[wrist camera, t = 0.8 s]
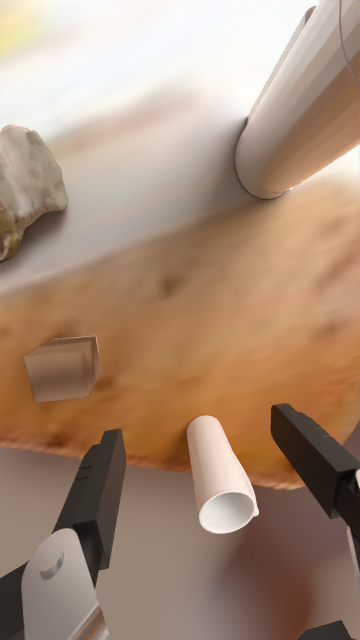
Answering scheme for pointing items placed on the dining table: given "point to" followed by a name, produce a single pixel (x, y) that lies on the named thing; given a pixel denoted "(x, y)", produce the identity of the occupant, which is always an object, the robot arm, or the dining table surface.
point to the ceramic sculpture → (25, 185)
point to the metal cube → (64, 368)
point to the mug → (218, 478)
